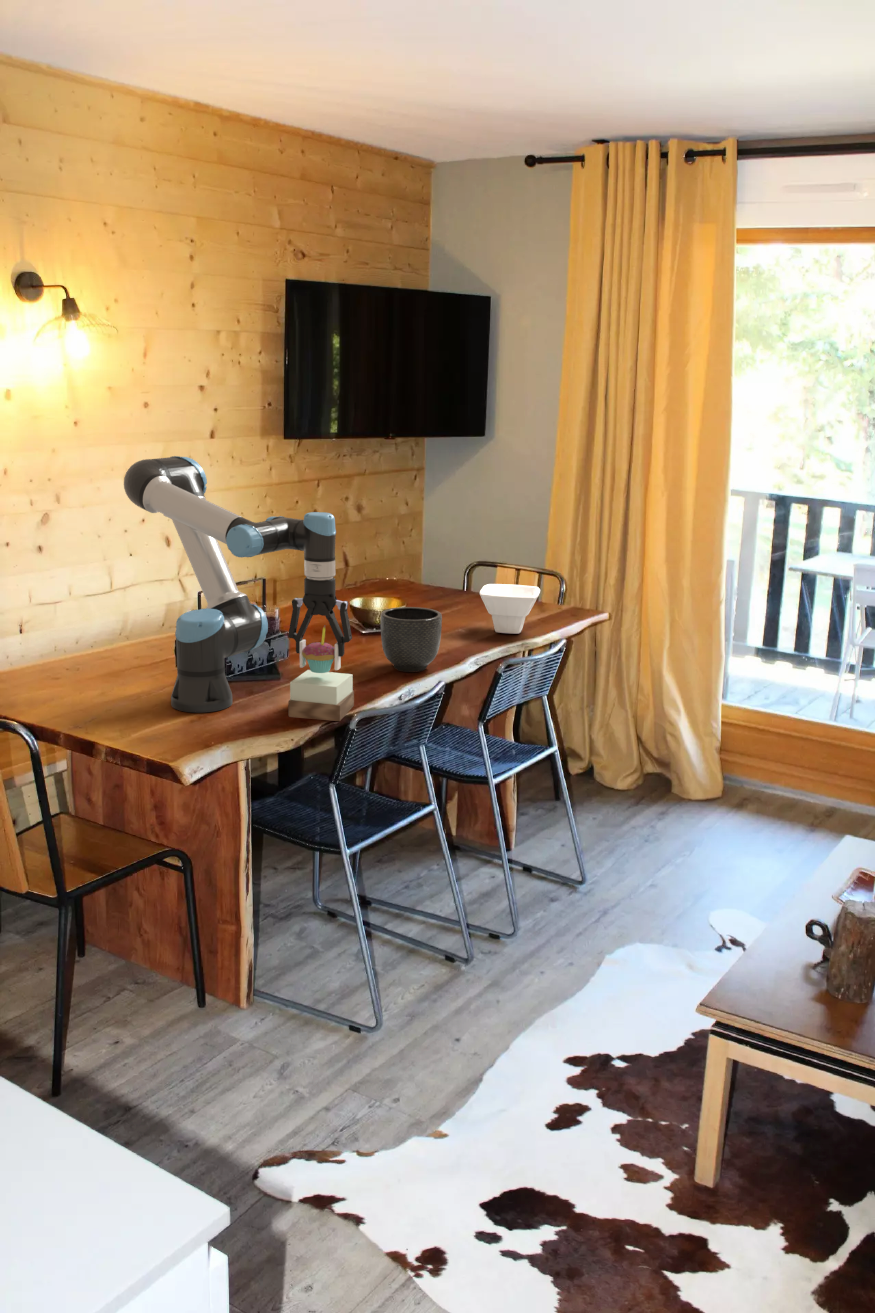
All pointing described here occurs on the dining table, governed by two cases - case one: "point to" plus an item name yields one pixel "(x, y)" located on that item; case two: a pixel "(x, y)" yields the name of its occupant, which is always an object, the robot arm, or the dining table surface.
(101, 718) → the dining table surface
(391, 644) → the planter
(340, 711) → the tower base block
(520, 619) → the bowl
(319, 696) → the tower top block
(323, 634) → the cupcake
